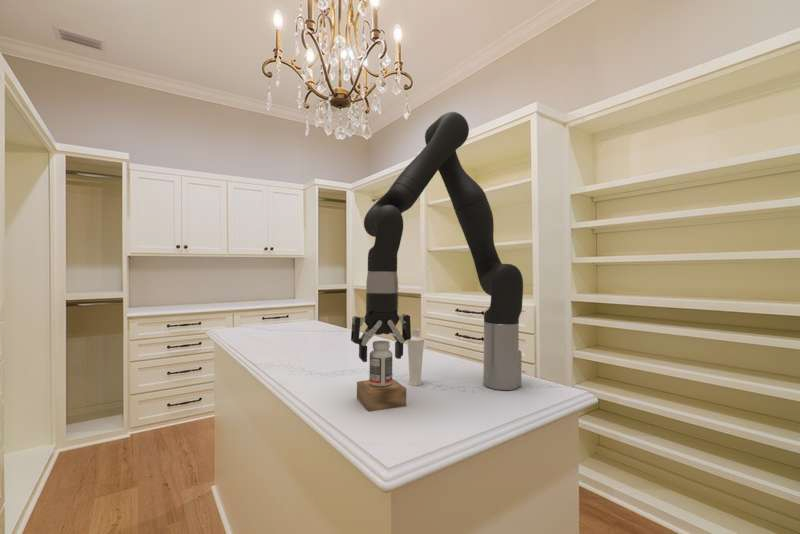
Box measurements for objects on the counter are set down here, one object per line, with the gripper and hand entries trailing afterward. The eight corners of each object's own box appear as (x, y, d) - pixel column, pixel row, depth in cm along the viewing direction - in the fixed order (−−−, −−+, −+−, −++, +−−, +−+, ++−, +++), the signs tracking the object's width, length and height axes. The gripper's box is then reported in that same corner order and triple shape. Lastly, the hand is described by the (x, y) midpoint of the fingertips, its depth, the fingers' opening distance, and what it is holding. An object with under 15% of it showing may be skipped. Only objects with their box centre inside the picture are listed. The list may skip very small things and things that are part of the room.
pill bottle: (388, 379, 90) (388, 339, 90) (395, 385, 84) (395, 343, 85) (366, 381, 88) (367, 340, 88) (372, 388, 83) (373, 344, 83)
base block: (391, 393, 92) (391, 376, 92) (406, 405, 84) (406, 387, 84) (356, 398, 88) (357, 380, 88) (368, 411, 80) (368, 391, 80)
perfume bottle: (422, 386, 98) (422, 330, 98) (406, 385, 99) (406, 330, 99) (424, 381, 103) (425, 328, 103) (409, 380, 104) (409, 327, 104)
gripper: (403, 290, 93) (402, 354, 93) (348, 290, 87) (347, 358, 87) (416, 291, 86) (415, 360, 86) (357, 292, 80) (356, 366, 80)
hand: (381, 359), depth 86 cm, fingers open, 8 cm apart
